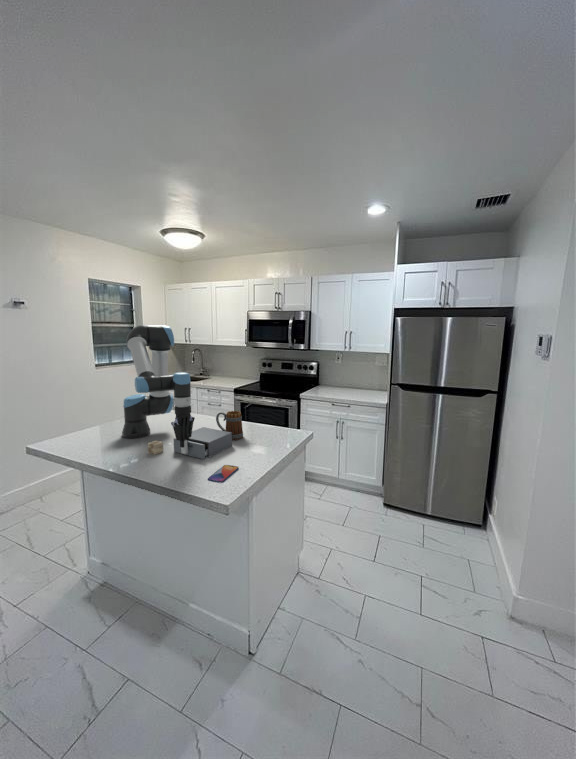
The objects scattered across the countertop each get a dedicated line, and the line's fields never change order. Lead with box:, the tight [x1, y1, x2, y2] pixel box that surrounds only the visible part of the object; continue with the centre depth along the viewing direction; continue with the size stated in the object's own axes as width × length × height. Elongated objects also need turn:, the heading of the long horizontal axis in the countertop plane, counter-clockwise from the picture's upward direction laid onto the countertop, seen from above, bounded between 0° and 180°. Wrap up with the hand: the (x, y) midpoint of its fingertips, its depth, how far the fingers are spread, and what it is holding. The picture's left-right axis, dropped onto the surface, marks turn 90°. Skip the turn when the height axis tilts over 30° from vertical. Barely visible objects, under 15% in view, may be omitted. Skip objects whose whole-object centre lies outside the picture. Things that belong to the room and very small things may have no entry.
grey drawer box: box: [188, 426, 233, 458], centre depth 167 cm, size 18×20×8 cm
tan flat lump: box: [192, 441, 208, 450], centre depth 163 cm, size 9×9×3 cm
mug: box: [215, 410, 244, 441], centre depth 184 cm, size 16×11×15 cm
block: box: [147, 440, 164, 456], centre depth 160 cm, size 5×5×5 cm
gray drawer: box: [172, 437, 208, 460], centre depth 163 cm, size 17×20×7 cm
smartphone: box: [207, 464, 240, 483], centre depth 137 cm, size 7×15×1 cm, turn 161°
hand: (184, 452), depth 154 cm, fingers closed
